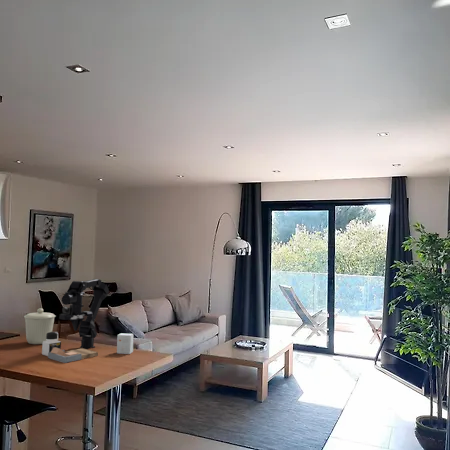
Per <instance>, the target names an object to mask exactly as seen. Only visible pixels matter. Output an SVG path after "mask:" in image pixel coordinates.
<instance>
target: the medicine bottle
mask: <svg viewBox="0 0 450 450" xmlns="http://www.w3.org/2000/svg"><path fill="white" fill-rule="evenodd" d="M46 340H47V341H43V344H41V345H42V346H41V347H42V348H41V355H42V356H46V357H48V352H51V351H52V349H53V348H54V347H55V348H59V349H61V350H62V341H60V340H59V333H58V331H52V332H49V333H47V334H46Z"/></svg>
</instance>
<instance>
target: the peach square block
mask: <svg viewBox="0 0 450 450" xmlns="http://www.w3.org/2000/svg"><path fill="white" fill-rule="evenodd" d="M77 354H78V353H75V352H69V353H64V356H65V357H67V356H72V355H77Z"/></svg>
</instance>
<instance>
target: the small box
mask: <svg viewBox="0 0 450 450" xmlns="http://www.w3.org/2000/svg"><path fill="white" fill-rule="evenodd" d="M132 353H134V333H122V332H121V333H119V334H117V339H116V354H123V355H124V354H125V355H131V354H132Z"/></svg>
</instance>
